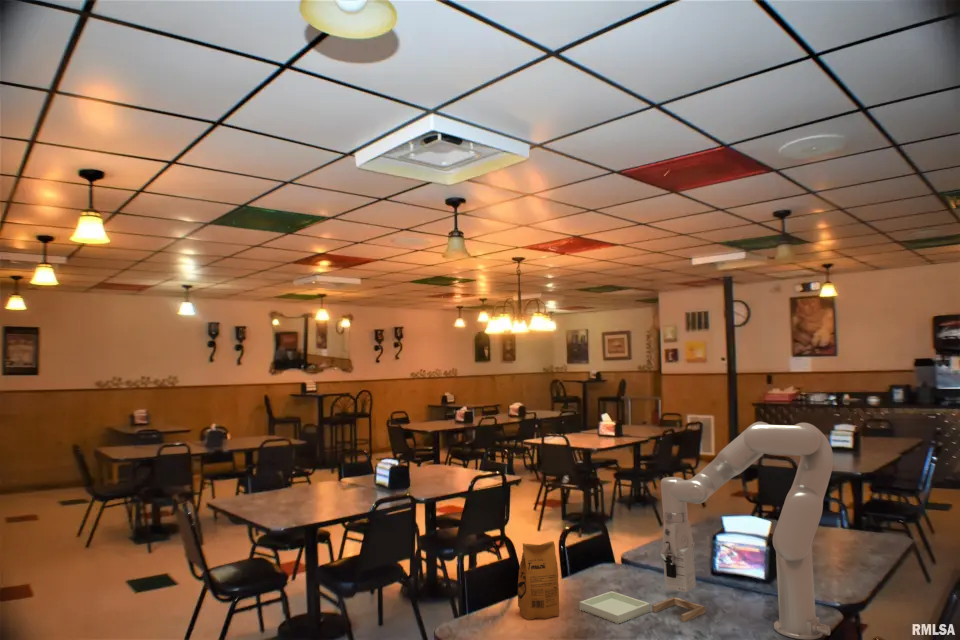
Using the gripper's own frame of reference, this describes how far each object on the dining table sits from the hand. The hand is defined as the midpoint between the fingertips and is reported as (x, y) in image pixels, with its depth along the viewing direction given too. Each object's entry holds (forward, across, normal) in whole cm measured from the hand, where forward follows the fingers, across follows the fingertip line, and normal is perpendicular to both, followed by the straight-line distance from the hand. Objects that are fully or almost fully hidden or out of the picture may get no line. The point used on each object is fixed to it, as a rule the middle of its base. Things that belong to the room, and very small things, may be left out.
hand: (679, 573), depth 201 cm
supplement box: (+4, 0, 0) cm, 4 cm away
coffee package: (+11, -34, +29) cm, 46 cm away
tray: (+11, -14, +15) cm, 24 cm away
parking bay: (+12, 0, +1) cm, 12 cm away
